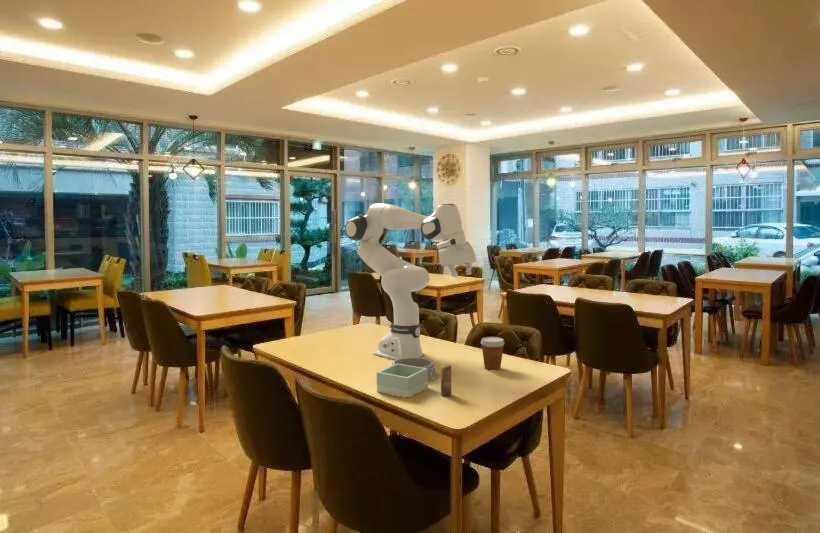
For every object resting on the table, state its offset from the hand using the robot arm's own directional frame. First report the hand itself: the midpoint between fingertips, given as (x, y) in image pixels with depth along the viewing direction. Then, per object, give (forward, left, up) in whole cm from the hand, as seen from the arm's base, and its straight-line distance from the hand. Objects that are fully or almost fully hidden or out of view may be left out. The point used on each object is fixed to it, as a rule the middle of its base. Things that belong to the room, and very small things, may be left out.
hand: (462, 275), depth 211 cm
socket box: (-5, -36, -37) cm, 52 cm away
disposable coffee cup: (+12, +4, -38) cm, 39 cm away
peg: (+11, -33, -37) cm, 51 cm away
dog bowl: (-12, -19, -38) cm, 44 cm away
